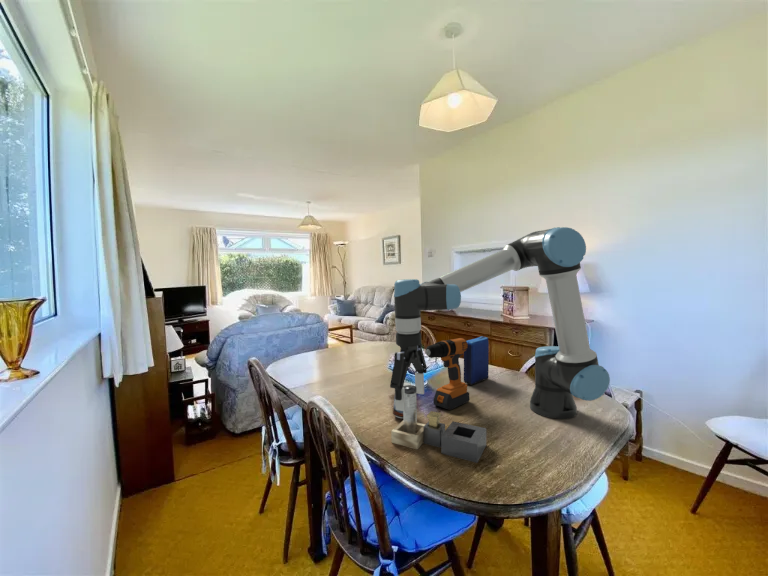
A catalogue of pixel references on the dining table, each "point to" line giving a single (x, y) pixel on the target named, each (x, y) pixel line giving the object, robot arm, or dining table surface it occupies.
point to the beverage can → (395, 412)
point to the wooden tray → (408, 436)
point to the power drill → (450, 373)
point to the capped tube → (410, 410)
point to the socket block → (457, 440)
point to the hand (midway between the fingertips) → (410, 401)
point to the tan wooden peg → (434, 419)
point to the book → (476, 360)
